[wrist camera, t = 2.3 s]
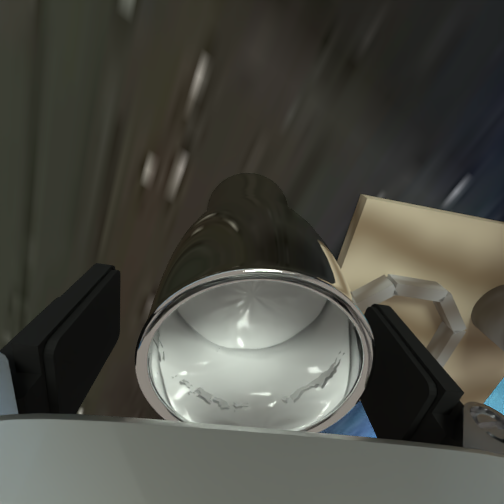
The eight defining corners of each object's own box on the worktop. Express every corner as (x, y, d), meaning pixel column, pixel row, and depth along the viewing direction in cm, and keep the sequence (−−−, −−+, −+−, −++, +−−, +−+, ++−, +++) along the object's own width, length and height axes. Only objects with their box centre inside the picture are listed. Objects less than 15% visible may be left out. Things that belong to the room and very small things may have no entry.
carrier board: (360, 194, 21) (414, 226, 14) (589, 238, 23) (727, 285, 16) (293, 383, 29) (308, 459, 22) (467, 403, 31) (526, 477, 25)
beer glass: (183, 194, 21) (66, 337, 7) (268, 147, 19) (330, 206, 6) (230, 268, 23) (212, 476, 10) (307, 230, 22) (413, 406, 8)
